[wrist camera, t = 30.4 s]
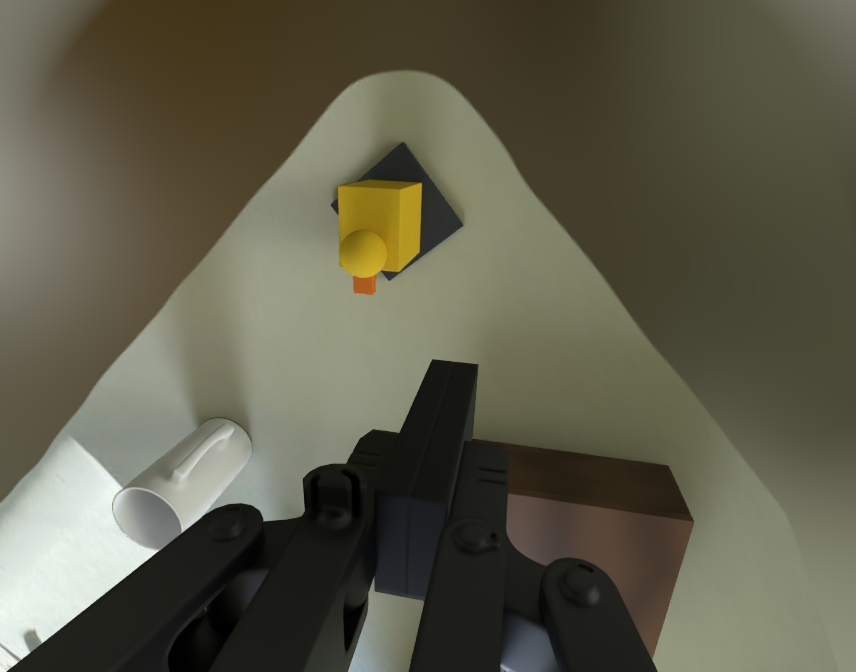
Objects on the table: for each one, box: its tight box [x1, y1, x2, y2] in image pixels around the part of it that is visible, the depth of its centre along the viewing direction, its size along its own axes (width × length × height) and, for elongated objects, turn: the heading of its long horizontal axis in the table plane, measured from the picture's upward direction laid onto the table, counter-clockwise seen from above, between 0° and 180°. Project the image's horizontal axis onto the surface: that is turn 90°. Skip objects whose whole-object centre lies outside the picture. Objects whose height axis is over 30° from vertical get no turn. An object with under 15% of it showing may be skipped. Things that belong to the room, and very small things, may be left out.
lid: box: [424, 487, 694, 659], centre depth 43 cm, size 21×19×1 cm
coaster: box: [331, 142, 463, 281], centre depth 40 cm, size 8×8×1 cm
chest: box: [472, 439, 691, 515], centre depth 46 cm, size 20×19×6 cm
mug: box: [112, 418, 252, 551], centre depth 46 cm, size 10×7×12 cm, turn 145°
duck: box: [338, 180, 422, 295], centre depth 36 cm, size 4×7×10 cm, turn 178°
